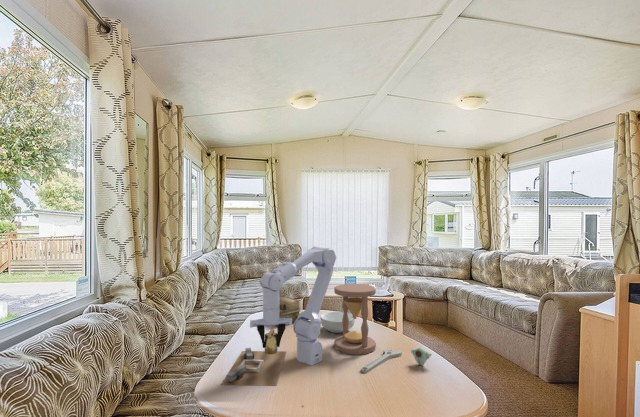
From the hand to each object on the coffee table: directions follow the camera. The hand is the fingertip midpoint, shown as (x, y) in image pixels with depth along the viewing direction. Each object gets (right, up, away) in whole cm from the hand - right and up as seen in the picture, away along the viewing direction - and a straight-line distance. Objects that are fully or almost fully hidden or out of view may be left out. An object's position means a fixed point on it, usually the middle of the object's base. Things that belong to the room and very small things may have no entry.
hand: (271, 346), depth 119 cm
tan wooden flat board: (-5, -10, +4) cm, 12 cm away
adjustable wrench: (+40, -11, +12) cm, 43 cm away
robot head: (+55, -10, +8) cm, 56 cm away
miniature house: (-2, -12, +61) cm, 62 cm away
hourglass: (+32, -11, +26) cm, 43 cm away
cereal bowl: (+26, -11, +47) cm, 55 cm away
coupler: (0, -2, 0) cm, 2 cm away
